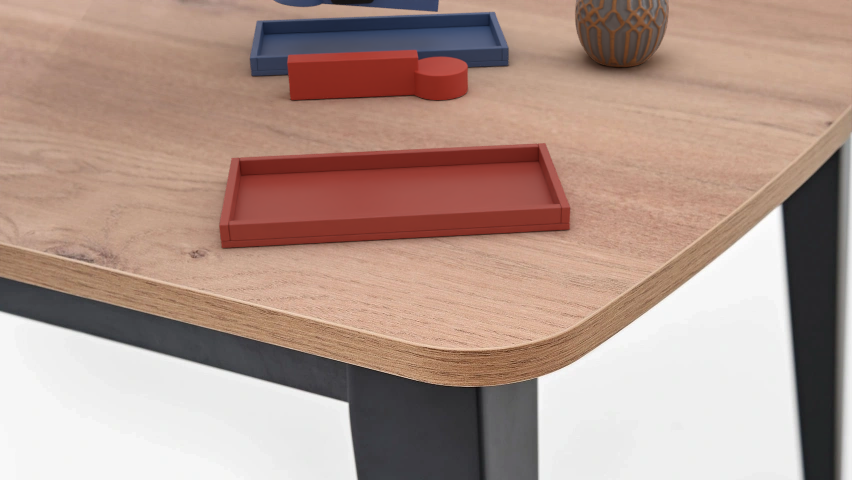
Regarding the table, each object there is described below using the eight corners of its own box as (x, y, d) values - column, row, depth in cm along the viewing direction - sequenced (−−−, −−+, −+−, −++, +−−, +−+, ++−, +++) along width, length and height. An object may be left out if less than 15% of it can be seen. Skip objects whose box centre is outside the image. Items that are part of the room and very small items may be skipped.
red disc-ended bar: (289, 106, 83) (286, 68, 82) (291, 86, 87) (288, 48, 86) (470, 99, 84) (470, 60, 83) (465, 79, 88) (464, 42, 87)
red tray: (221, 248, 65) (218, 225, 65) (233, 178, 73) (231, 157, 72) (569, 229, 67) (570, 206, 66) (545, 163, 75) (545, 142, 74)
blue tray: (251, 76, 89) (249, 57, 88) (258, 37, 97) (256, 20, 96) (508, 65, 90) (508, 47, 90) (494, 28, 98) (494, 11, 98)
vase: (682, 67, 90) (691, -52, 86) (598, 79, 88) (604, -42, 83) (638, 39, 96) (644, -73, 91) (558, 50, 93) (561, -64, 89)
